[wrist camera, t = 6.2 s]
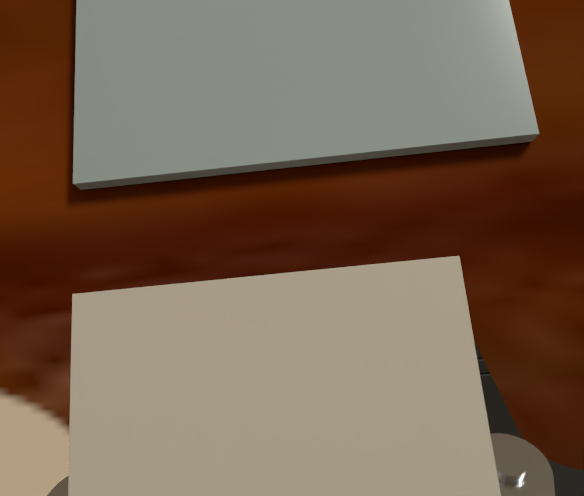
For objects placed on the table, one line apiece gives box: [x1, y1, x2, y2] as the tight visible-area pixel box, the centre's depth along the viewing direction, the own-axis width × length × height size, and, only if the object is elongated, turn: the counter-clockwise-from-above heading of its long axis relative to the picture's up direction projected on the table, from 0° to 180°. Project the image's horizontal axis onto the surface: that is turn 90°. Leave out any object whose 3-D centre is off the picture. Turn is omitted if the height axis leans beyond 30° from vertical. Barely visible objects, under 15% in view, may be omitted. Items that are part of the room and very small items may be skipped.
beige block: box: [68, 256, 501, 496], centre depth 11 cm, size 5×5×10 cm
